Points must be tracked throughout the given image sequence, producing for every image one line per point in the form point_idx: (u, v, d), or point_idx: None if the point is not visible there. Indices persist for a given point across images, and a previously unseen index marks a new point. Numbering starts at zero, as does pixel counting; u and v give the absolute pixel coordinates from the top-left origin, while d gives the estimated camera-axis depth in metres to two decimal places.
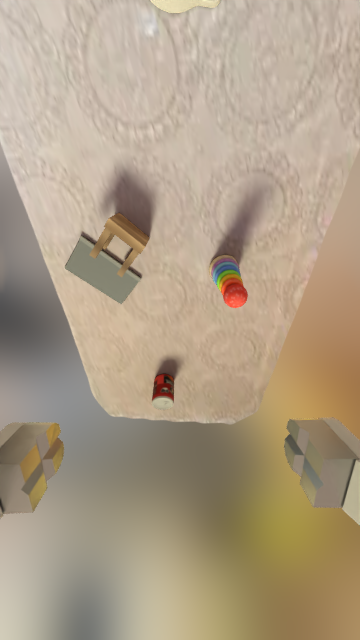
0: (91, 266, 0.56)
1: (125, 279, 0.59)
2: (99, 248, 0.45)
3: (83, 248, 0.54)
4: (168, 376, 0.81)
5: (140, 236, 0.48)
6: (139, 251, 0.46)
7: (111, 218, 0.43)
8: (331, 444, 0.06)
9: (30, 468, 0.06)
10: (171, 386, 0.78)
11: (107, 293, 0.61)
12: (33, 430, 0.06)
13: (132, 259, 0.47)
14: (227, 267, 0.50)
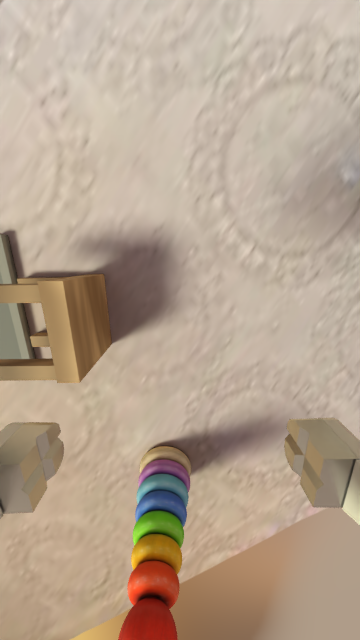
0: None
1: (8, 354, 0.27)
2: None
3: None
4: None
5: (96, 341, 0.22)
6: (60, 378, 0.18)
7: (69, 283, 0.17)
8: (331, 444, 0.06)
9: (30, 468, 0.06)
10: None
11: None
12: (33, 430, 0.06)
13: (31, 376, 0.18)
14: (176, 507, 0.25)
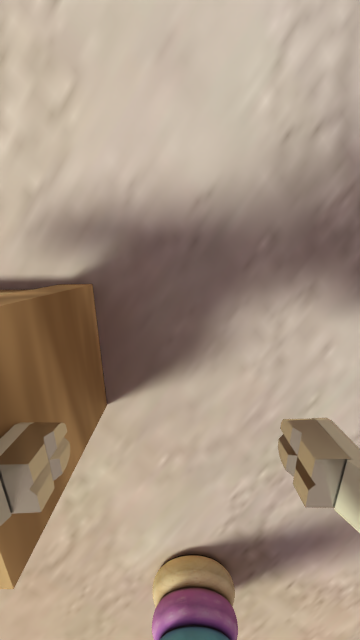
0: None
1: None
2: None
3: None
4: None
5: (74, 427, 0.11)
6: None
7: None
8: (323, 444, 0.06)
9: (38, 468, 0.06)
10: None
11: None
12: (40, 430, 0.06)
13: None
14: None
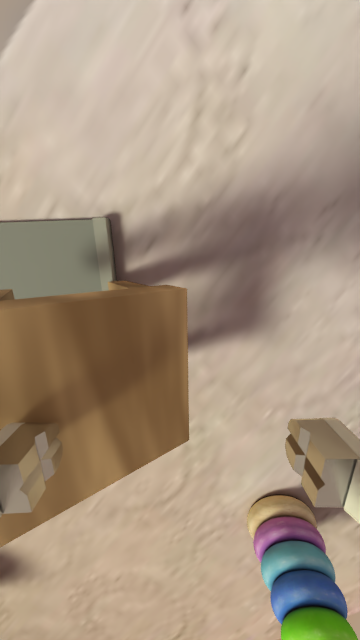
0: (50, 290, 0.18)
1: None
2: None
3: (78, 240, 0.17)
4: None
5: (110, 449, 0.09)
6: None
7: None
8: (332, 444, 0.06)
9: (29, 468, 0.06)
10: None
11: None
12: (32, 430, 0.06)
13: None
14: (339, 600, 0.18)
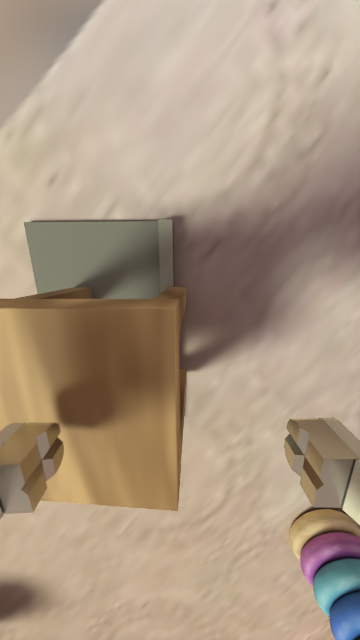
0: (101, 295, 0.17)
1: None
2: None
3: (137, 243, 0.16)
4: None
5: (75, 468, 0.09)
6: None
7: None
8: (331, 444, 0.06)
9: (30, 468, 0.06)
10: None
11: None
12: (33, 430, 0.06)
13: None
14: None
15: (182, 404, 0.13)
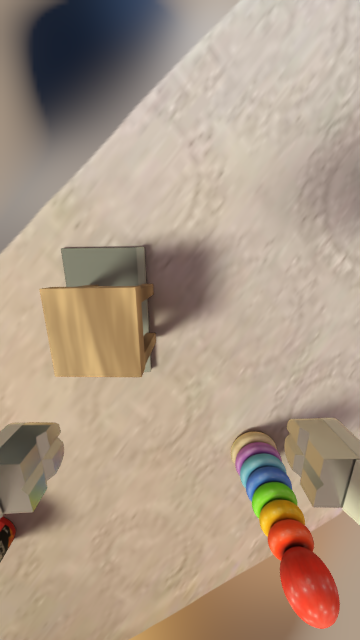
0: None
1: None
2: None
3: (125, 259, 0.28)
4: (10, 532, 0.38)
5: (96, 358, 0.20)
6: None
7: (50, 292, 0.19)
8: (331, 444, 0.06)
9: (30, 468, 0.06)
10: None
11: None
12: (33, 430, 0.06)
13: None
14: (285, 478, 0.29)
15: (148, 344, 0.25)
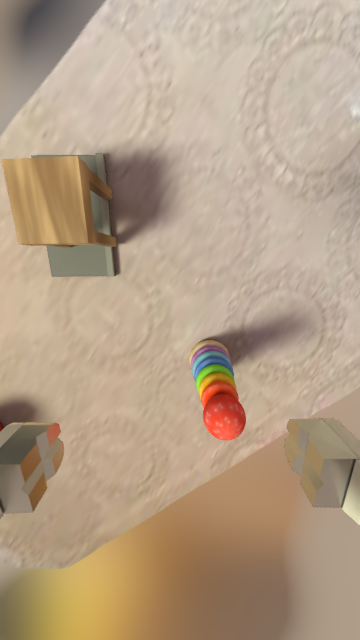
0: None
1: (94, 256, 0.35)
2: None
3: (87, 166, 0.31)
4: None
5: (50, 225, 0.25)
6: None
7: (9, 162, 0.23)
8: (331, 444, 0.06)
9: (30, 468, 0.06)
10: None
11: None
12: (33, 430, 0.06)
13: None
14: (227, 364, 0.33)
15: (103, 233, 0.29)
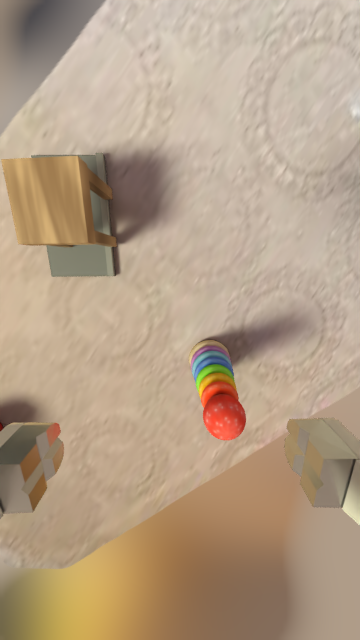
0: None
1: (94, 256, 0.35)
2: None
3: (87, 166, 0.31)
4: None
5: (50, 225, 0.25)
6: None
7: (9, 162, 0.23)
8: (331, 444, 0.06)
9: (30, 468, 0.06)
10: None
11: (49, 245, 0.34)
12: (33, 430, 0.06)
13: None
14: (227, 364, 0.33)
15: (103, 233, 0.29)
